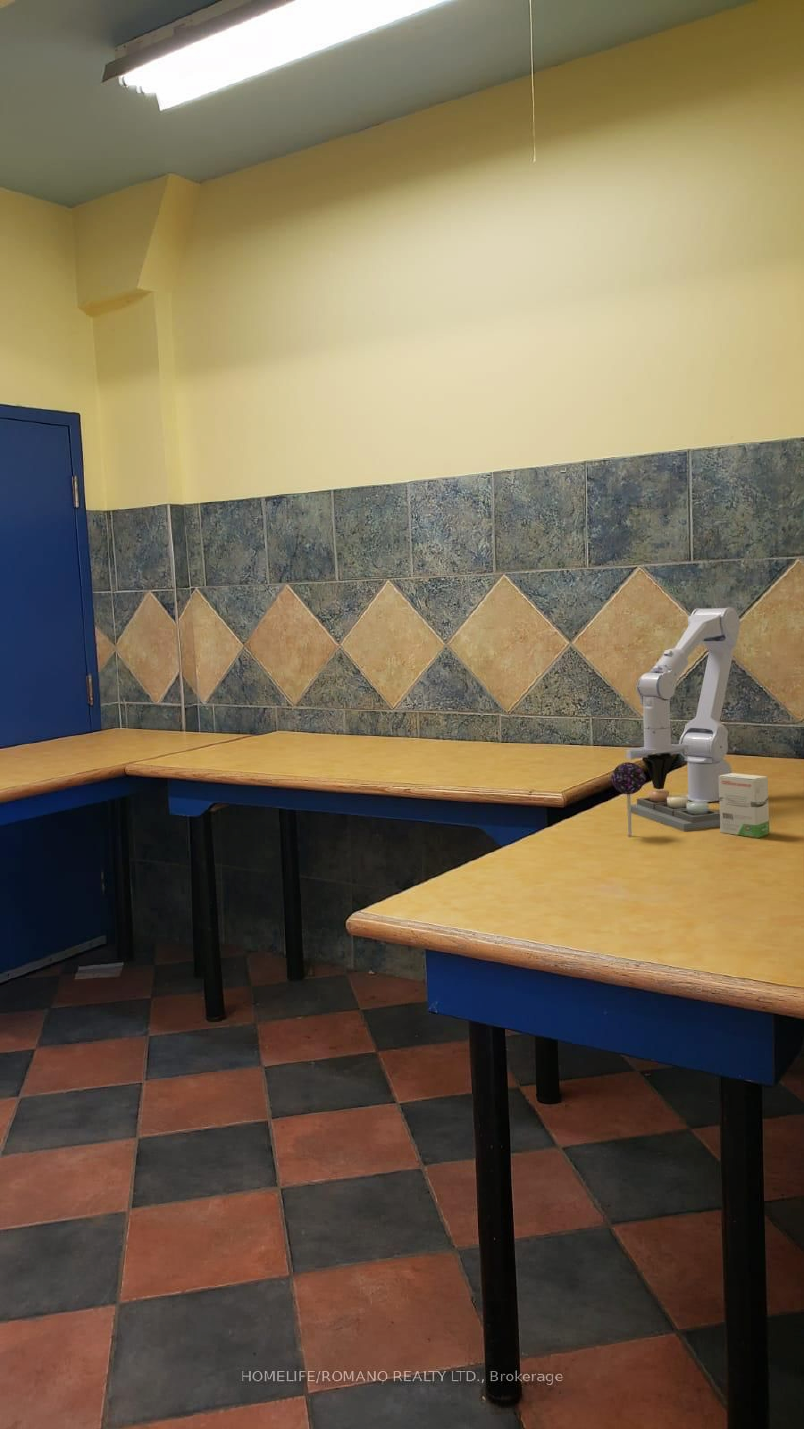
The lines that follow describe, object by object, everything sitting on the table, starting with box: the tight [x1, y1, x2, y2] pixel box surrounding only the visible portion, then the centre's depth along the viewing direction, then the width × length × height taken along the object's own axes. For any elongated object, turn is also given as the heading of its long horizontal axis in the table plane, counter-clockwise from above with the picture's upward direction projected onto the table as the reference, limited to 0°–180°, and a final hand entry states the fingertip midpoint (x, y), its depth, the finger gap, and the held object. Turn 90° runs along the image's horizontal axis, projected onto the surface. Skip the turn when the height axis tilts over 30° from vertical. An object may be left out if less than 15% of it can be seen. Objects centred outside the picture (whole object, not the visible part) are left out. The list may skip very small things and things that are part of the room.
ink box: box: [718, 772, 771, 839], centre depth 215 cm, size 9×5×12 cm, turn 39°
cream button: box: [667, 794, 689, 808], centre depth 231 cm, size 4×4×2 cm
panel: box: [631, 796, 720, 832], centre depth 232 cm, size 11×22×3 cm, turn 18°
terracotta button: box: [648, 789, 670, 802], centre depth 238 cm, size 4×4×2 cm
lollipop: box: [610, 761, 647, 837], centre depth 218 cm, size 7×7×15 cm
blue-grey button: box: [686, 801, 710, 814], centre depth 224 cm, size 4×4×2 cm
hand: (658, 788), depth 238 cm, fingers closed
